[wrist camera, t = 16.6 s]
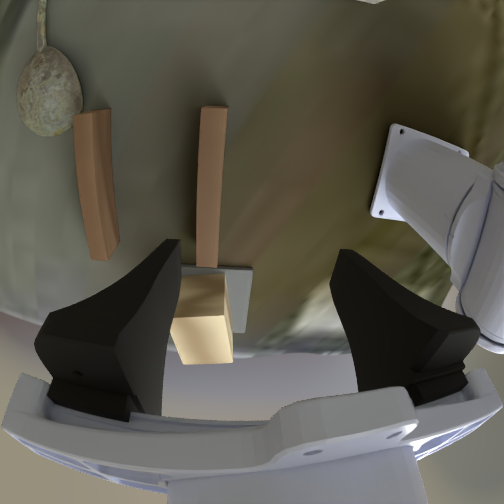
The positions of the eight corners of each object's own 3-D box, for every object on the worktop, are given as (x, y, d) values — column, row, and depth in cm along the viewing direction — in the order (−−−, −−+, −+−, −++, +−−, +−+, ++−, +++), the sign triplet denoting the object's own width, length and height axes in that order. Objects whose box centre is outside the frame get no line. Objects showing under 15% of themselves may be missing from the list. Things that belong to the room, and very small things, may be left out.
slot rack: (228, 106, 17) (227, 108, 14) (218, 246, 23) (217, 267, 20) (93, 110, 16) (73, 115, 13) (104, 240, 22) (91, 259, 19)
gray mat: (252, 267, 24) (253, 270, 24) (244, 329, 28) (244, 332, 28) (160, 262, 23) (159, 265, 23) (168, 325, 27) (167, 328, 27)
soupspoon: (36, 143, 17) (96, 125, 18) (15, 155, 14) (78, 133, 15) (39, -52, 5) (101, -80, 5) (22, -60, 2) (89, -94, 2)
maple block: (225, 273, 24) (224, 315, 19) (232, 321, 27) (233, 362, 23) (174, 276, 24) (165, 318, 19) (188, 323, 27) (183, 364, 23)
